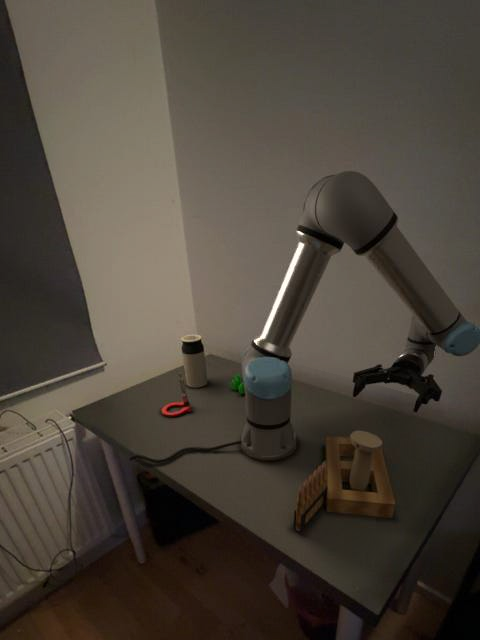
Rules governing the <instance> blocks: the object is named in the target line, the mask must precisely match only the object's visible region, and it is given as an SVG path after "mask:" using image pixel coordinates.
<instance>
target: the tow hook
mask: <svg viewBox="0 0 480 640" xmlns="http://www.w3.org/2000/svg"><path fill="white" fill-rule="evenodd" d="M178 376H179V384H180V390H181V393H182V394H181V396H182V401H180V402H179V401H178V402H177V401H175V402H171V403H168V404H166V405H164V406H163V407H162V408H161V414H162V416H165V417H169V418H171V417H173V418H174V417H178V416H181V415H183V414H185V413H186V412H187V413H191V412H192V408H191V406H190V402H189V397H188V393H187V391H186V387H185V381H184V378H183V375H182V372H181V371H179V372H178ZM172 407H173V408H174V407H180V408H181V409H180V410H178V411H175V412H170V411H168V410H169V409H170V408H172Z"/></svg>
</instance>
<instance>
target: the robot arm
mask: <svg viewBox="0 0 480 640" xmlns="http://www.w3.org/2000/svg"><path fill="white" fill-rule="evenodd" d="M302 205H303V207H302V215H301V218H300V221H299V222H298V226H297V228H296V231H295V234H296V237H297V241H298V243H297V245H296V247H295V250H294V252H293V254H292V258H291V260H290V262H289V265H288V267H287V270H286V272H285V275H284V278H283V279H282V282H281V284H280V287H279V289H278V292H277V294H276V297H275V299H274V301H273V303H272V307H271V309H270V311H269V313H268V316H267V319H266V321H265V323H264V326H263V328H262V331H261V333H260V334H258V335H256V336H254V337H253V339H252V341H251V343H250V346H249V347H248V348H247V349H246V350H245V352H244V353H243V355H242V358H241V361H240V371H241V377H242V379H243V384H244V389H245V393H244V397H245V416H246V422H245V424H244V428H243V430H242V434H241V437H240V440H237V441H231V442H228V443H223V444H219V445H216V446H212V447H211V446H210V447H199V446H190V447H184V448H181V449H179V450H177V451H176V452H174V453H172V454H171V455H169V456H168V457H165V458H161V459H155V458H151V457H148V456H146V455H142V454H133V455H132V456H130V457H129V461H134V459H143V460H145V461H147V462H150V463H155V464H161V463H166V462H169V461H170V460H172V459H174V458H175V457H177V456H179V455H180V454H182V453H185V452H189V451H200V452H211V451H217V450H220V449H224V448H228V447H231V446H236V445H240V448H241V450H242V452H243V453H244V454H245V455H246V456H248V457H250V458H252V459H253V460H256V461H257V460H258V461H262V462H273V461H274V462H275V461H279V460H280V461H281V460H283V459H286V458H288V457H290V456H291V455H293V453H294V452H295V451H296V449H297V432H296V429H294V427H293V425H292V422H291V415H292V414H291V411H292V385H293V374H292V368H291V366H290V364H289V362H290V360H291V358H292V355H293V353H292V350H291V345H292V342H293V340H294V338H295V336H296V333H297V332H298V330H299V327H300V325H301V323H302V320H303V318H304V317H305V314H306V312H307V310H308V308H309V305H310V303H311V301H312V299H313V296H314V295H315V292H316V291H317V289H318V286H319V284H320V282H321V280H322V278H323V275H324V273H325V270H326V268H327V266H328V264H329V262H330V260H331V258H332V257H333V256H334V255H336V254H338V253H341V251H342V249H343V247H344V245H345V244H346V245H347V246H348V247H349V248H350V249H351V250H352V251H353V252H354V254H355V255H356V256H359V257H361V256H362V257H363V256H364V257H365V258H366V259H367V261H368V262H369V263H370V264H371V266H372V267H373V268H374V269H375V270H376V271H377V272H378V274H379V275H380V276H381V278H382V279H383V280H384V281H385V283H387V285H388V286H389V287H390V288H391V290H392V291H393V292H394V293H395V294H396V296H397V297H398V298H399V299H400V300H401V302H402V303H403V304H404V306H406V308H408V310H409V312H410V313H411V320H410V325H409V329H408V335H407V339H406V343H405V347H404V351H403V352H402V353H401V355H399V356H398V358H397V359H396V360H395V361H394V362H393V363H392V365H391V366H389V367H387V368H384V367H383V365H382V364H381V363H380V364H376V365H375V366H372V367H369V368H366V369H361V370H358V371H354V372H353V376H352V383H354V386H353V391H352V397H353V398H357V396H358V395H360V393H361V392H363V390H364V389H365V388H366V386H367V385H373V384H374V385H375V384H380V383H381V384H382V383H383V384H392V383H393V384H399V385H401V386H404V387H405V386H406V387H407V388H408V389H409V390H413V391H414V392H415V393H417V394H418V397H417V398H416V400H415V403H414V407H413V410H412V412H414V413H418V411H419V409H421V406H422V405H424V406H425V405H428V404H429V402H430V401H431V400H433V401H434V402H440V400H441V397H442V393H443V390H442V388H441V387H440V386H439V384H438V382H437V381H436V380H435V379H434V378H435V377H434V374H432V373H431V374H428V375H425V376H424V375H423V374H424V373H425V371H426V370H427V368H428V367H429V365H430V364H431V363H432V361H433V360H434V359H435V357H434V351H435V347H436V348H437V347H438V348H440V349H442V350H443V351H444V352H445V353H446V354H450V355H452V356H455V357H464V356H467V355H469V354H471V353H472V352H474V351H475V350H476V349H477V348H478V347H479V345H480V328H479V327H478V326H476V325H475V323H473V322H470V321H467V319H466V318H465V317H464V315H463V314H462V313H461V312H460V310H459V309H458V308H457V306H456V304H454V302H453V301H452V300H451V298H450V296H449V295H448V294H447V293H446V291H445V290H444V289H443V287H442V286H441V284H440V283H439V281H438V280H437V279H436V278H435V276H434V275H433V274H432V272H431V271H430V270H429V268H428V267H427V265H426V264H425V262H424V261H423V260H422V258H421V257H420V256H419V254H418V253H417V251H416V250H415V249H414V247H413V246H412V244H410V242H409V241H408V239H407V238H406V237H405V235H404V234H403V232H402V231H401V230H400V228H399V227H398V226H397V225H398V222H399V217H398V215H397V214H396V212H395V211H394V209H393V208H392V207H391V205H390V204H389V202H388V200H386V198H385V197H384V196H383V194H382V193H381V192H380V190H379V189H378V188H377V186H376V185H375V184H374V182H372V180H370V179H369V177H367V175H364V174H363V173H360V172H358V171H353V170H346V171H342V172H339V173H336V174H330V175H327V176H324V177H322V178H321V179H318V180H317V181H316V182H315V184H314V185H312V186H311V188H310V189H309V191H308V192H307V194H306V195H305V198H304V201H303V204H302ZM433 358H434V359H433Z"/></svg>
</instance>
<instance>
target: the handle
mask: <svg viewBox="0 0 480 640" xmlns="http://www.w3.org/2000/svg"><path fill="white" fill-rule="evenodd" d="M349 438H350V442H351V443H352V445H353V446H354V447H355V448H356V451H355V456H354V457H353V461H352V462H353V464H352V468H351V473H350V482H349V489H348V490H352V491H363V492H366V489H367V487H368V485H369V484H368V481H369V476H370V467H371V459H372V453H373V452H376V451H379V450H380V449H382V446H383V440H382V439H381V438H380V437H379V436H377V435H375V434H374V433H371V432H368V431H364V430H354V431H352V432H351V433H350V435H349Z"/></svg>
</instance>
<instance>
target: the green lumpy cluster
mask: <svg viewBox="0 0 480 640" xmlns="http://www.w3.org/2000/svg"><path fill="white" fill-rule="evenodd" d="M231 385H232V386H231ZM229 387H230V390H232V391H235V392H236V391H238V394H239V395H241V396H242V395H245V389H244V382H243V376H242V375H239V374H234V375H233V376H232V380H231V382H230V383H229Z"/></svg>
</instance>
